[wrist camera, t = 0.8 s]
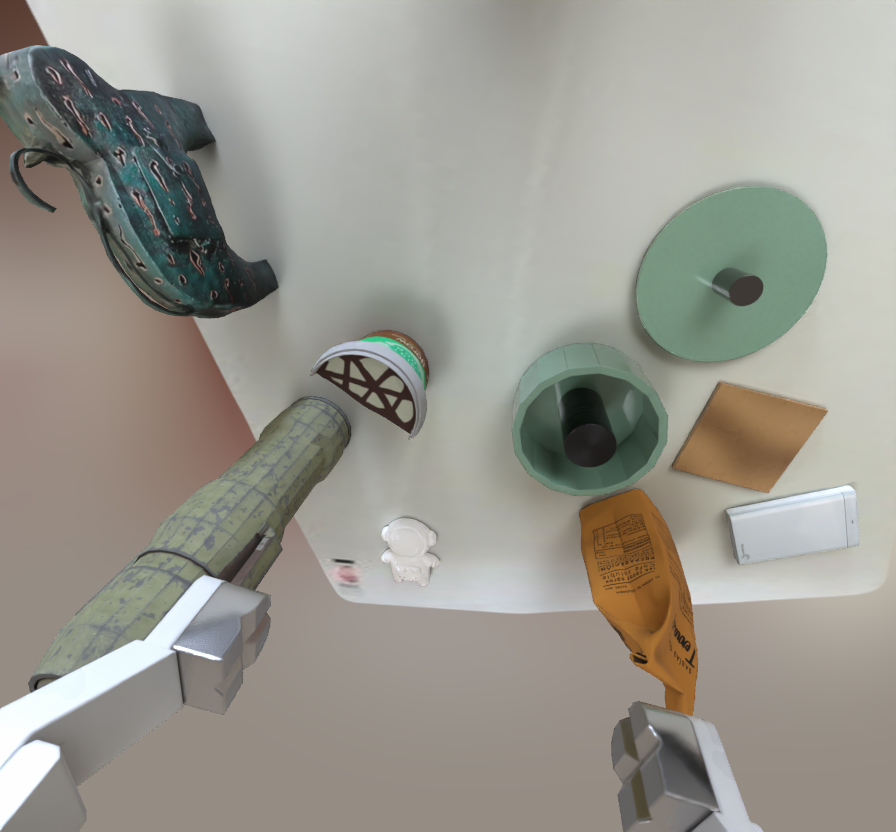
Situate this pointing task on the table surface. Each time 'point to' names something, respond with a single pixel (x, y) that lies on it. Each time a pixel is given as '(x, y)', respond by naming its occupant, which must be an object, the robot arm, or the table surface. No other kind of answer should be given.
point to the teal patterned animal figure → (130, 180)
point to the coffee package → (642, 590)
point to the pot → (624, 400)
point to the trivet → (747, 437)
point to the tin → (586, 428)
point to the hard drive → (794, 525)
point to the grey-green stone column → (209, 536)
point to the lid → (731, 273)
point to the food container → (381, 376)
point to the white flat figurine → (409, 550)
